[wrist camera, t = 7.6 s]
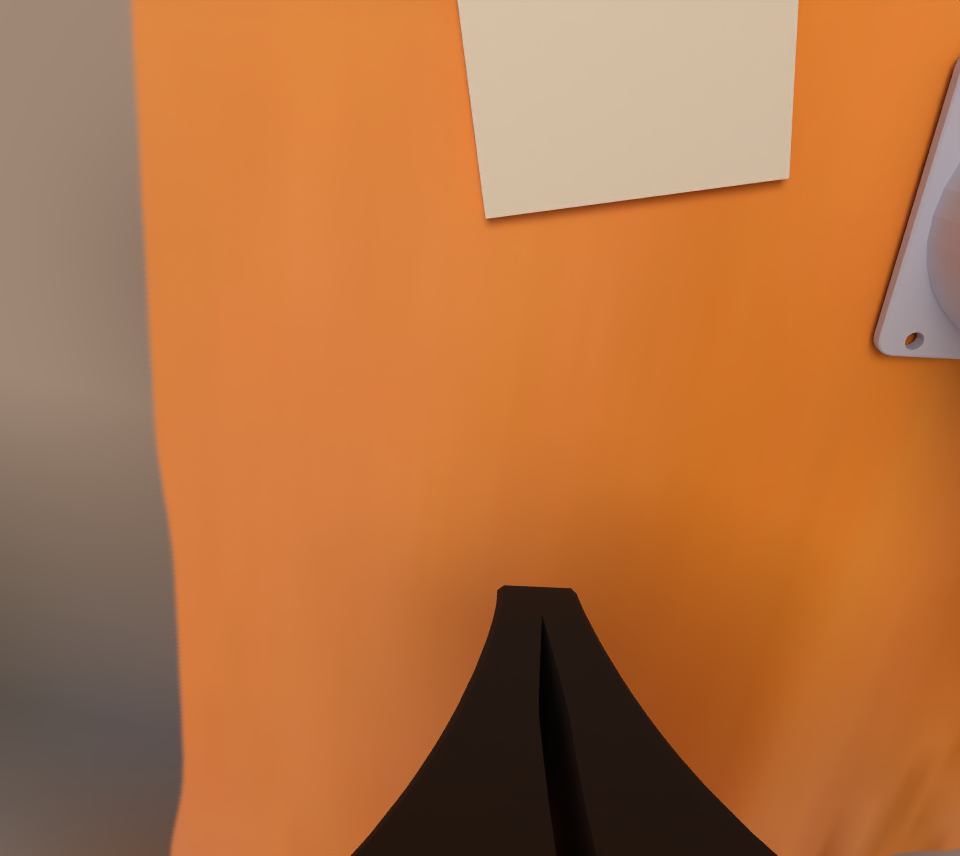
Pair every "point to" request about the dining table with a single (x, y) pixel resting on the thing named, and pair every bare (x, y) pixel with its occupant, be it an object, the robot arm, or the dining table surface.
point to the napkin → (626, 97)
